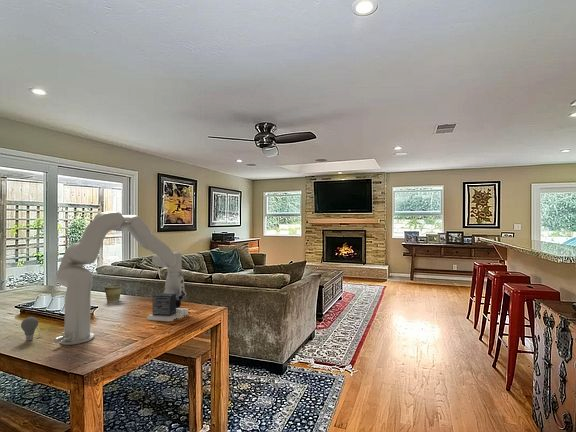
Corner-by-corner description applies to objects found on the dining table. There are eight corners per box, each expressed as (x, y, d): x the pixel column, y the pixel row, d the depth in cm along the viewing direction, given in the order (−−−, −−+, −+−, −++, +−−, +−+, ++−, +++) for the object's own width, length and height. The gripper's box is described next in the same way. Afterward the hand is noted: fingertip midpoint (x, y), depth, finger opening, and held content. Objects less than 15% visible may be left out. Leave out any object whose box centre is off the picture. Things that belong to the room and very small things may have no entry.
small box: (176, 312, 177) (176, 293, 177) (170, 316, 171) (170, 296, 171) (158, 311, 179) (158, 292, 179) (151, 315, 172) (152, 295, 172)
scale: (175, 322, 167) (175, 316, 167) (146, 319, 171) (146, 314, 171) (193, 312, 185) (193, 307, 185) (167, 310, 189) (167, 305, 189)
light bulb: (36, 336, 146) (36, 314, 146) (40, 339, 142) (40, 316, 143) (19, 340, 142) (19, 317, 142) (22, 343, 138) (22, 320, 138)
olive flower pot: (117, 303, 204) (117, 287, 204) (101, 303, 204) (101, 287, 204) (127, 298, 217) (127, 283, 217) (111, 298, 217) (112, 283, 217)
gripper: (191, 273, 186) (191, 306, 185) (165, 272, 189) (164, 304, 189) (184, 276, 178) (184, 309, 178) (157, 274, 182) (156, 307, 182)
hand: (174, 306), depth 184 cm, fingers closed on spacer, 4 cm apart
